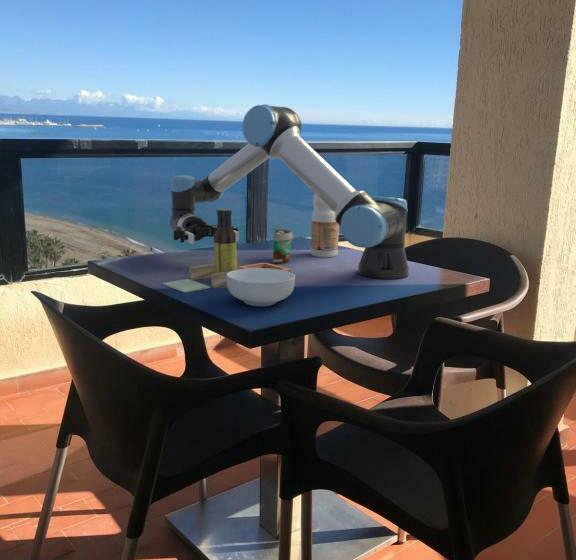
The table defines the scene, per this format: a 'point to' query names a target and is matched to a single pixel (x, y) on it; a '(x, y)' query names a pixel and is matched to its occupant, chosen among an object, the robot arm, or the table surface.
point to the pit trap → (265, 266)
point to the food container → (282, 246)
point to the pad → (186, 285)
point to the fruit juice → (323, 230)
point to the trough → (210, 274)
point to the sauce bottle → (224, 243)
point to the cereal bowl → (260, 285)
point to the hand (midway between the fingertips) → (215, 238)
